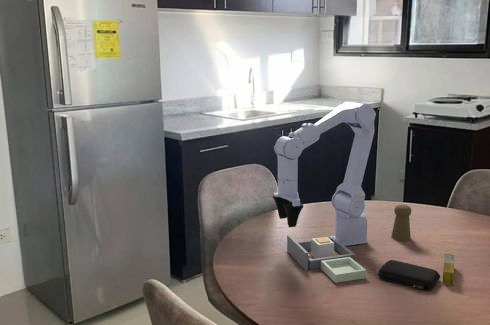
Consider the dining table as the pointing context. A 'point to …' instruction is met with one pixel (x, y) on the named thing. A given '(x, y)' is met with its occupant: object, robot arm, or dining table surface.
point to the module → (322, 247)
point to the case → (304, 258)
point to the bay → (343, 269)
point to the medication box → (448, 270)
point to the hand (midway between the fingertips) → (287, 222)
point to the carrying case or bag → (409, 274)
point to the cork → (401, 223)
